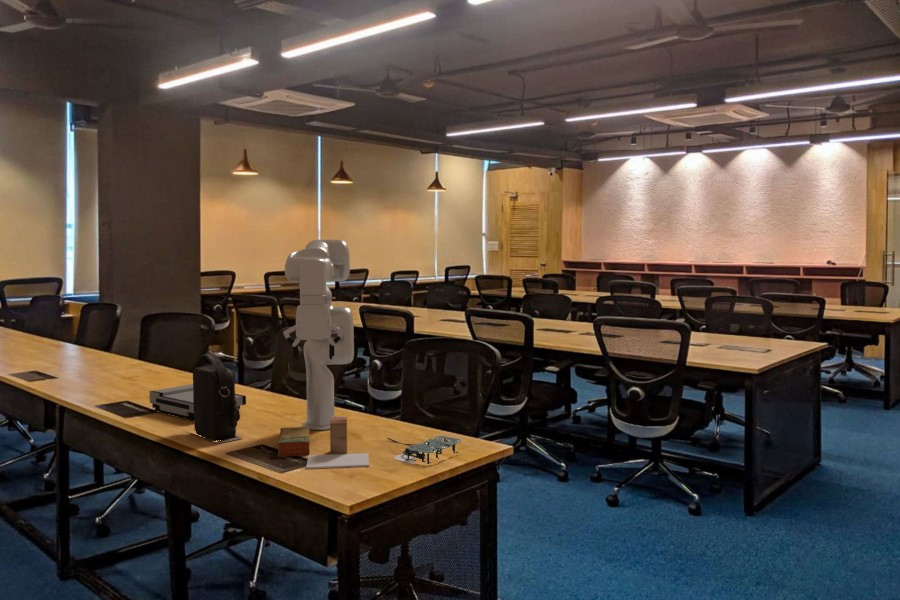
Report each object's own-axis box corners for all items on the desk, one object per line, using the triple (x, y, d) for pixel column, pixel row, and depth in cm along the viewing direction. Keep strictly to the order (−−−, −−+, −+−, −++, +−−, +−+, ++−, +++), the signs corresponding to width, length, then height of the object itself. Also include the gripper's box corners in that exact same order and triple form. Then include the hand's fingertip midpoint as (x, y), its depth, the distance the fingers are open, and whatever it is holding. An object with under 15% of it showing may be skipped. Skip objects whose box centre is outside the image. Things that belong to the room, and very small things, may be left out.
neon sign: (398, 425, 241) (470, 439, 224) (398, 438, 241) (470, 452, 224) (354, 439, 224) (429, 454, 207) (354, 452, 224) (429, 469, 207)
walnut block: (330, 451, 224) (330, 416, 223) (347, 450, 224) (346, 415, 224) (330, 455, 219) (330, 420, 218) (347, 455, 220) (346, 419, 219)
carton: (310, 440, 238) (309, 426, 237) (309, 456, 220) (309, 440, 219) (280, 441, 236) (280, 427, 235) (277, 457, 218) (277, 441, 217)
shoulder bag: (185, 432, 247) (183, 351, 245) (210, 427, 254) (208, 348, 252) (217, 444, 232) (215, 358, 230) (243, 439, 238) (241, 355, 236)
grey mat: (308, 456, 217) (308, 455, 217) (368, 454, 220) (368, 453, 220) (306, 468, 206) (306, 467, 206) (369, 466, 208) (369, 464, 208)
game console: (198, 424, 260) (198, 401, 259) (150, 412, 279) (149, 391, 278) (246, 413, 276) (245, 392, 276) (197, 403, 295) (196, 383, 295)
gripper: (342, 299, 214) (343, 356, 215) (283, 300, 210) (283, 358, 211) (344, 301, 206) (344, 360, 208) (282, 302, 203) (283, 362, 204)
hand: (314, 359), depth 210 cm, fingers open, 9 cm apart
